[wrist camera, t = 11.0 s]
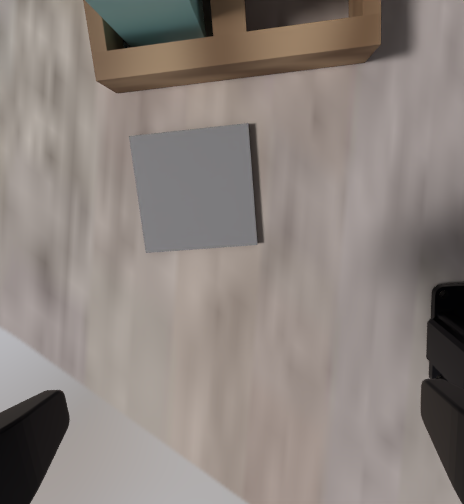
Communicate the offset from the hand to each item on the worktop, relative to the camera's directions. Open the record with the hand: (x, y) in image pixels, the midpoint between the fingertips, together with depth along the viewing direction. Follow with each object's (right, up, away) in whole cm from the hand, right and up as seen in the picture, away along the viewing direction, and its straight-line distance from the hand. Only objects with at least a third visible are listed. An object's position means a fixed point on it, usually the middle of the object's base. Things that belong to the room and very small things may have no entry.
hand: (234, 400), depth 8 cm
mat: (-2, +7, +12) cm, 14 cm away
